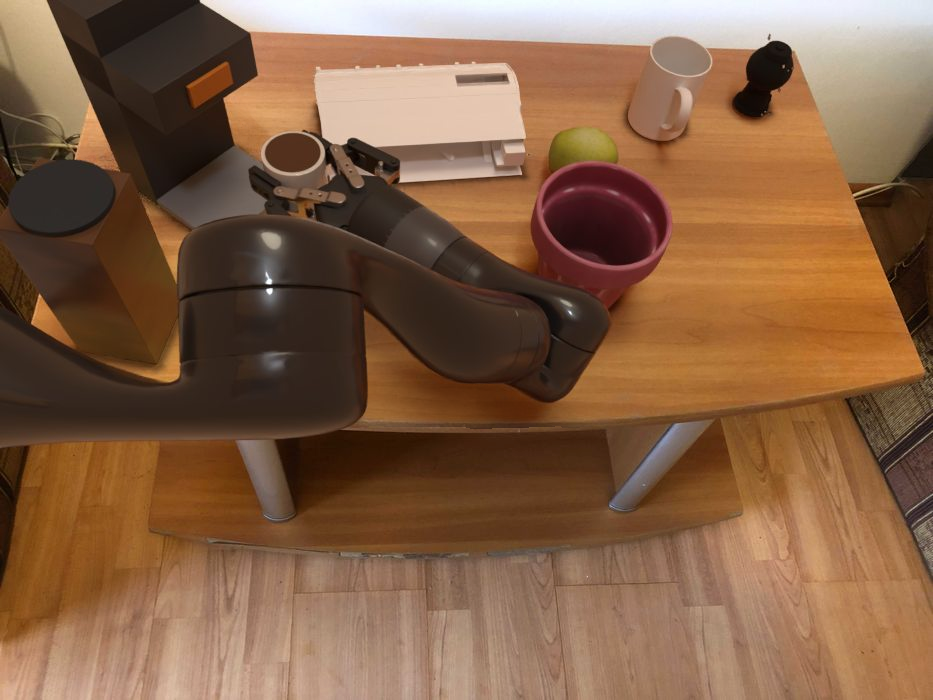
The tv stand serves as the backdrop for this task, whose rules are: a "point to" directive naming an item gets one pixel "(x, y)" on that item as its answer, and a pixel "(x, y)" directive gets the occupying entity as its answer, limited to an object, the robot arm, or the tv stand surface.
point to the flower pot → (600, 228)
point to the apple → (581, 147)
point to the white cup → (295, 160)
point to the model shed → (428, 117)
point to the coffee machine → (167, 99)
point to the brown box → (103, 277)
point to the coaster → (62, 198)
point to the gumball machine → (764, 78)
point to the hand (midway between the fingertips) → (277, 156)
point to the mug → (669, 87)
